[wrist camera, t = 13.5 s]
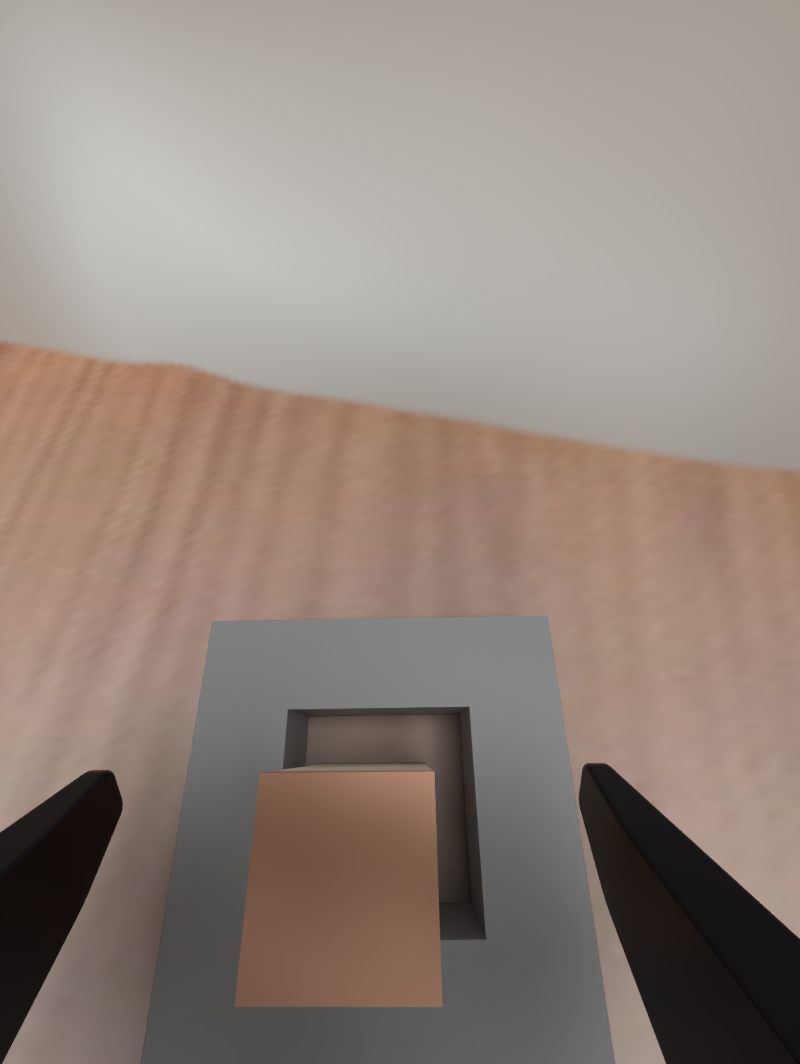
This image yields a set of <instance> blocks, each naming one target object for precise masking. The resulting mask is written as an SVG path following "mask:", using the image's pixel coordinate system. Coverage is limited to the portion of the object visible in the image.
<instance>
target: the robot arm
mask: <svg viewBox="0 0 800 1064" xmlns="http://www.w3.org/2000/svg"><path fill="white" fill-rule="evenodd" d="M579 805H580V810H581V813H582V817H583V821H584V825H585V828H586V832H587V836H588V839H589V843H590V847H591V850H592V854H593V858H594V861H595V865H596V869H597V872H598V876H599V880H600V883H601V887H602V890H603V894H604V897H605V901H606V903H607V906H608V909H609V912H610V915H611V918H612V920H613V923H614V926H615V928H616V931H617V934H618V936H619V939H620V942H621V944H622V947H623V950H624V952H625V955H626V958H627V960H628V963H629V966H630V968H631V971H632V974H633V976H634V979H635V982H636V984H637V987H638V990H639V992H640V995H641V998H642V1000H643V1003H644V1006H645V1008H646V1011H647V1014H648V1016H649V1019H650V1022H651V1024H652V1027H653V1030H654V1032H655V1035H656V1038H657V1040H658V1043H659V1046H660V1048H661V1051H662V1054H663V1056H664V1059H665V1062H666V1064H800V939H799V938H798V937H797V936H796V935H795V934H794V933H793V932H792V931H791V930H789V929H788V928H787V927H786V926H785V925H784V924H783V923H782V922H781V921H780V920H778V919H777V918H776V917H775V916H774V915H773V914H772V913H771V912H770V911H769V910H767V909H766V908H765V907H764V906H763V905H762V904H761V903H760V902H759V901H758V900H756V899H755V898H754V897H753V896H752V895H751V894H750V893H749V892H748V891H747V890H745V889H744V888H743V887H742V886H741V885H740V884H739V883H738V882H737V881H736V880H734V879H733V878H732V877H731V876H730V875H729V874H728V873H727V872H726V871H725V870H723V869H722V868H721V867H720V866H719V865H718V864H717V863H716V862H715V861H714V860H713V859H711V858H710V857H709V856H708V855H707V854H706V853H705V852H704V851H703V850H702V849H700V848H699V847H698V846H697V845H696V844H695V843H694V842H693V841H692V840H691V839H689V838H688V837H687V836H686V835H685V834H684V833H683V832H682V831H681V830H680V829H678V828H677V827H676V826H675V825H674V824H673V823H672V822H671V821H670V820H669V819H667V818H666V817H665V816H664V815H663V814H662V813H661V812H660V811H659V810H658V809H656V808H655V807H654V806H653V805H652V804H651V803H650V802H649V801H648V800H647V799H645V798H644V797H643V796H642V795H641V794H640V793H639V792H638V791H637V790H636V789H634V788H633V787H632V786H631V785H630V784H629V783H628V782H627V781H626V780H625V779H623V778H622V777H621V776H620V775H619V774H618V773H617V772H616V771H615V770H614V769H612V768H611V767H610V766H609V765H607V764H605V763H587V764H585V765H584V767H583V770H582V777H581V784H580V791H579ZM122 806H123V803H122V797H121V794H120V791H119V788H118V785H117V781H116V778H115V775H114V773H113V772H112V771H110V770H92V771H88V772H86V773H84V774H83V775H81V776H80V777H79V778H77V779H76V780H74V781H73V782H71V783H70V784H69V785H67V786H66V787H64V788H63V789H61V790H60V791H59V792H57V793H56V794H54V795H53V796H52V797H50V798H49V799H47V800H46V801H44V802H43V803H42V804H40V805H39V806H37V807H36V808H34V809H33V810H32V811H30V812H29V813H27V814H26V815H25V816H23V817H22V818H20V819H19V820H17V821H16V822H15V823H13V824H12V825H10V826H9V827H7V828H6V829H5V830H3V831H2V832H0V1064H2V1063H3V1061H4V1059H5V1057H6V1055H7V1053H8V1051H9V1049H10V1047H11V1045H12V1043H13V1041H14V1039H15V1037H16V1035H17V1033H18V1031H19V1030H20V1028H21V1026H22V1024H23V1022H24V1020H25V1018H26V1016H27V1014H28V1012H29V1010H30V1008H31V1006H32V1004H33V1002H34V1000H35V998H36V996H37V994H38V992H39V991H40V989H41V987H42V985H43V983H44V981H45V979H46V977H47V975H48V973H49V971H50V969H51V967H52V965H53V963H54V961H55V959H56V957H57V955H58V954H59V952H60V950H61V948H62V946H63V944H64V942H65V940H66V938H67V936H68V934H69V932H70V930H71V928H72V926H73V924H74V922H75V920H76V918H77V916H78V914H79V912H80V910H81V908H82V906H83V904H84V902H85V899H86V897H87V895H88V893H89V890H90V888H91V886H92V883H93V881H94V878H95V876H96V874H97V871H98V869H99V866H100V864H101V861H102V859H103V857H104V854H105V852H106V849H107V847H108V844H109V842H110V840H111V837H112V835H113V832H114V830H115V828H116V825H117V823H118V820H119V818H120V815H121V812H122Z"/></svg>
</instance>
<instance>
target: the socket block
mask: <svg viewBox="0 0 800 1064" xmlns="http://www.w3.org/2000/svg"><path fill="white" fill-rule="evenodd" d="M438 714H460V727H461V743H462V759H463V775H464V791H465V807H466V823H467V839H468V854H469V870H470V886H471V902H472V903H439V918H440V947H441V976H442V1005H443V1007H234V1006H235V997H236V987H237V978H238V969H239V959H240V950H241V941H242V932H243V922H244V913H245V904H246V894H247V885H248V876H249V867H250V857H251V848H252V839H253V830H254V820H255V811H256V802H257V792H258V783H259V774H260V773H262V772H269V771H276V770H283V769H290V768H297V767H304V766H305V762H306V747H307V732H308V717H309V716H371V715H438ZM141 1064H615V1060H614V1053H613V1046H612V1040H611V1033H610V1027H609V1020H608V1013H607V1007H606V1000H605V993H604V987H603V980H602V973H601V967H600V960H599V953H598V947H597V940H596V934H595V927H594V920H593V914H592V907H591V900H590V894H589V887H588V880H587V874H586V867H585V861H584V854H583V847H582V841H581V834H580V827H579V821H578V814H577V807H576V801H575V794H574V787H573V781H572V774H571V768H570V761H569V754H568V748H567V741H566V734H565V728H564V721H563V714H562V708H561V701H560V694H559V688H558V681H557V675H556V668H555V661H554V655H553V648H552V641H551V635H550V628H549V621H548V616H494V617H439V618H383V619H327V620H272V621H216V622H212V626H211V632H210V638H209V644H208V651H207V657H206V663H205V669H204V675H203V681H202V688H201V694H200V700H199V706H198V712H197V719H196V725H195V731H194V737H193V743H192V749H191V756H190V762H189V768H188V774H187V780H186V787H185V793H184V799H183V805H182V811H181V817H180V824H179V830H178V836H177V842H176V848H175V855H174V861H173V867H172V873H171V879H170V885H169V892H168V898H167V904H166V910H165V916H164V923H163V929H162V935H161V941H160V947H159V953H158V960H157V966H156V972H155V978H154V984H153V991H152V997H151V1003H150V1009H149V1015H148V1021H147V1028H146V1034H145V1040H144V1046H143V1052H142V1059H141Z"/></svg>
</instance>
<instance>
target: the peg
mask: <svg viewBox="0 0 800 1064" xmlns="http://www.w3.org/2000/svg"><path fill="white" fill-rule="evenodd" d="M234 1007H443V1005H442V976H441V947H440V918H439V888H438V859H437V830H436V801H435V772H434V771H433V770H432V769H431V768H430V767H429V766H428V765H426V764H425V763H325V764H318V765H311V766H304V767H297V768H290V769H283V770H276V771H269V772H262V773H260V774H259V783H258V792H257V802H256V811H255V820H254V830H253V839H252V848H251V857H250V867H249V876H248V885H247V894H246V904H245V913H244V922H243V932H242V941H241V950H240V959H239V969H238V978H237V987H236V997H235V1006H234Z"/></svg>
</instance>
